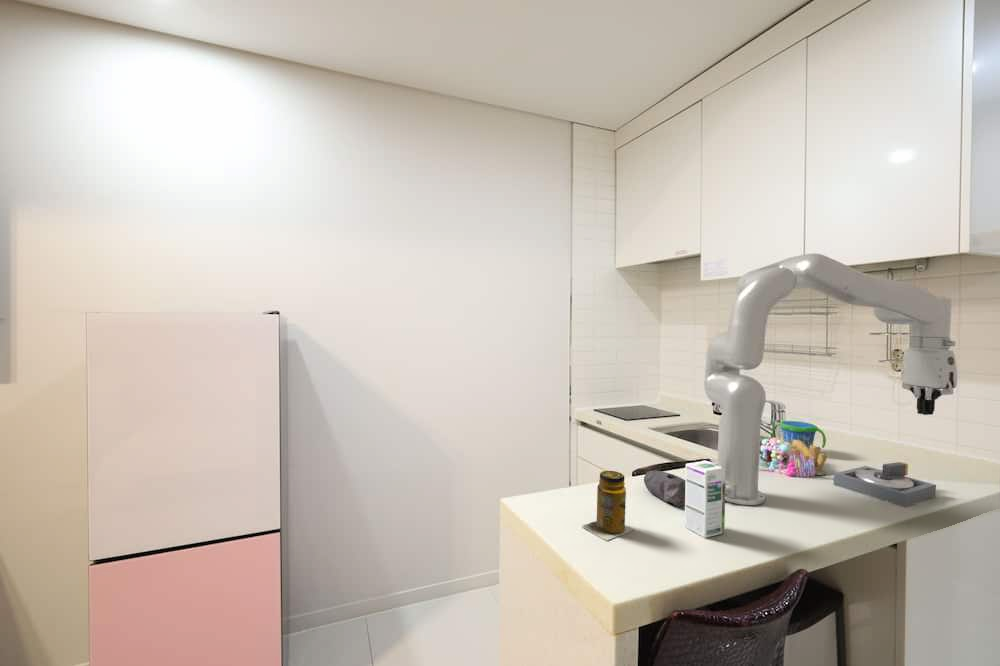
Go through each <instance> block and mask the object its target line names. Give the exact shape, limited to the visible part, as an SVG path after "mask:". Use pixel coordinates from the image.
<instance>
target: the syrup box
mask: <svg viewBox="0 0 1000 666" xmlns="http://www.w3.org/2000/svg"><path fill="white" fill-rule="evenodd" d="M685 480H686V482H685V506H684V527H685V528H686V529H688V530H689V529H690V530H689V531H691V530H692V531H691V532H693V531H694V532H696V533H697V534H696V533H695V534H696V535H698V534H699V535H698V536H700V535H701V536H700V537H702V538H703V539H708V538H709V537H714V536H718V535H723V534H725V521H726V520H725V519H726V516H725V515H726V514H725V513H726V501H725V468H724V467H722V466H720V465H718V464H717V463H715V462H712V461H708V460H702V461H695V462H689V463H685ZM694 532H693V533H694Z"/></svg>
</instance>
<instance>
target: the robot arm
mask: <svg viewBox="0 0 1000 666" xmlns="http://www.w3.org/2000/svg"><path fill="white" fill-rule="evenodd" d="M796 288H808V289H812V290H814V291H816V292H818V293H820V294H823V295H825V296H828V297H829V298H832V299H834V300H837V301H838V302H841V303H844V304H848V305H852V306H859V307H870V308H873V315H874V317H875V318H876V319H877V320H878V321H879V322H882V323H885V324H888V325H910V326H909V327H910V328H909V330H910V331H909V342H908V343H909V346H908V347H907V348H906V350H905V352H904V355H903V359H902V365H901V370H900V371H901V372H900V375H901V376H900V381H901V383H902V384H901V388H902V389H905V390H907V391H910V392H911V393H912V395H914V398H915V399H916V411H917V414H918V415H923V416H928V415H930V416H931V415H934V412H935V410H936V409H935V406H936V405H935V404H936V401H937V400H938V398H939V397H941V396H948V395H954V389H955V388H956V387H957V386H958V385H957V384H958V370H957V369H958V368H957V362H956V356H955V353H954V352H955V351H954V350H950V349H951V347H955V346H956V341H954V340H951V321H952V319H951V318H952V307H953V306H952V300H951V298H949V297H946V296H936V295H935V294H933V293H931V292H930V291H927V290H925V289H923V288H920V287H919V286H916V285H913V284H910V283H908V282H907V283H906V282H903V281H900V280H896V279H890V278H887V277H883V276H879V275H875V274H869V273H865V272H863V271H861V270H858V269H856V268H853V267H851V266H849V265H847V264H844V263H842V262H840V261H838V260H836V259H833V258H831V257H829V256H827V255H825V254H820V253H815V252H814V253H806V254H800V255H796V256H791V257H788V258H785V259H782V260H780V261H777V262H774V263H771V264H769V265H768V264H767V265H766V266H763V267H760V268H756V269H754V270H753V269H752V270H751V271H748V272H746V273H744V274H743V275H742V276H740V278H739V279H738V280H737V284H736V292H737V297H736V298H735V299H734V302H733V304H732V306H731V310H730V313H729V320H728V325H727V331H725V332H720V333H718V334H716V335H714V337H713V338H712V339H711V341H710V342H709V345H708V347H707V351H706V357H705V359H706V361H705V371H704V372H705V373H704V380H703V381H704V384H703V385H704V392H705V395H706V396H707V398H708V399H709V400H710V401H711V402H712V403H714V404H716V405H719V406H721V407H723V408H722V409H723V410H722V412H721V416H720V418H719V422H718V436H717V437H718V440H717V463H716V464H718V465H720V466H722V467H724V468H725V502H727V503H732V504H736V505H743V506H757V505H762V504H763V503H765V501H766V500H765V499H766V497H765V495H764V494H765V493H763V492H762V491H761V490H759V472H760V471H759V451H760V444H761V424H762V418H763V417H762V416H763V413H764V408H765V406H766V405H765V404H766V400H767V395H766V391H765V388H764V385H762V384H761V383H760V382H759V381H758V380H757V379H755V378H753V377H751V376H749V375H743V374H740V373H741V370H743V371H751V370H754V369H757V368H758V367H759V366H760V365H761V364H762V362H763V359H764V354H765V344H766V343H765V341H766V332H767V331H766V330H767V323H768V318H769V315H770V313H771V311H772V309H774V307H775V306H776V305H777V304H778V303H779V302H781V301H782V300H784V299H786V298H788V297H789V296H790V295H792V293H793V292H794V291H795V289H796Z"/></svg>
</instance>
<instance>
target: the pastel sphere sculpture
mask: <svg viewBox="0 0 1000 666" xmlns="http://www.w3.org/2000/svg"><path fill="white" fill-rule="evenodd" d="M792 447H793V448H792ZM821 450H822V447H820V446H819V445H813V446H811V445H810V449H809V448H808V447H807V446H806V445H805V444H804V443H803V442H801V441H800V440H793V442H792V445H791V444H790V443H788V442H784V440H782V439H781V438H780V437H775V438H772V437H771V438H770V439H769V438H764V439H762V441H761V443H760V451H759V472H770V473H775V474H778V475H783V476H788V477H796V478H798V477H800V478H803V479H805V478H810V476H811V477H813V478H815V476H821V475H826V471H825V470H823V469H822V468H823V467H824V465H825V463H826V462H827V457H828V455H827V454H825V453H820V452H821Z"/></svg>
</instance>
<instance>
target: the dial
mask: <svg viewBox="0 0 1000 666" xmlns="http://www.w3.org/2000/svg"><path fill="white" fill-rule="evenodd" d="M882 470H883V471H875V470H858V471H856V473H855V478H857V479H861V480H864V481H868V482H871V483H874V484H878V485H881V486H885V487H888V488H892V489H895V490H898V491H903V490H906V489H910V488H913V484H914V483H913V482H912V481H911V480H909V479H907V478H905V477H906V476H908V474H909V473H908V472H909V464H908V463H905V462H902V461H900V462H899V461H898V462H896V461H895V462H891V463H884V464H882ZM902 476H905V477H902Z"/></svg>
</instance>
